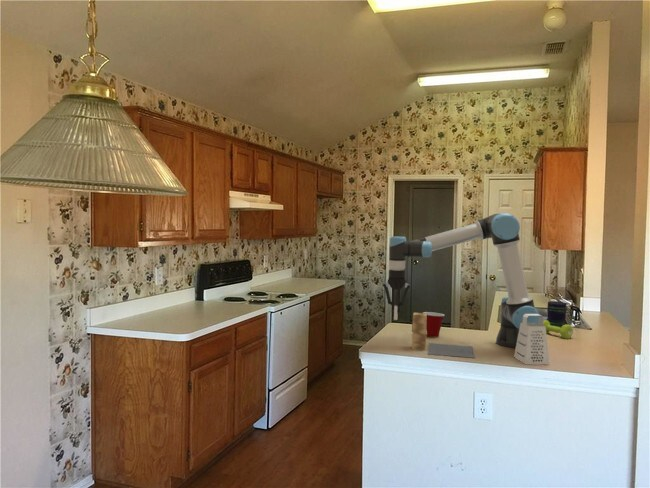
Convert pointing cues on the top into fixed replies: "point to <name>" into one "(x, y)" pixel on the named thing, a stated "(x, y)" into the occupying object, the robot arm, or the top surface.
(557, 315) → the storage jar
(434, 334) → the plastic cup
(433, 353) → the mat
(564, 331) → the dumbbell
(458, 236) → the robot arm
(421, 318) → the oak block
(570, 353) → the top surface
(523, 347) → the grater
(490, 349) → the top surface
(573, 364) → the top surface
